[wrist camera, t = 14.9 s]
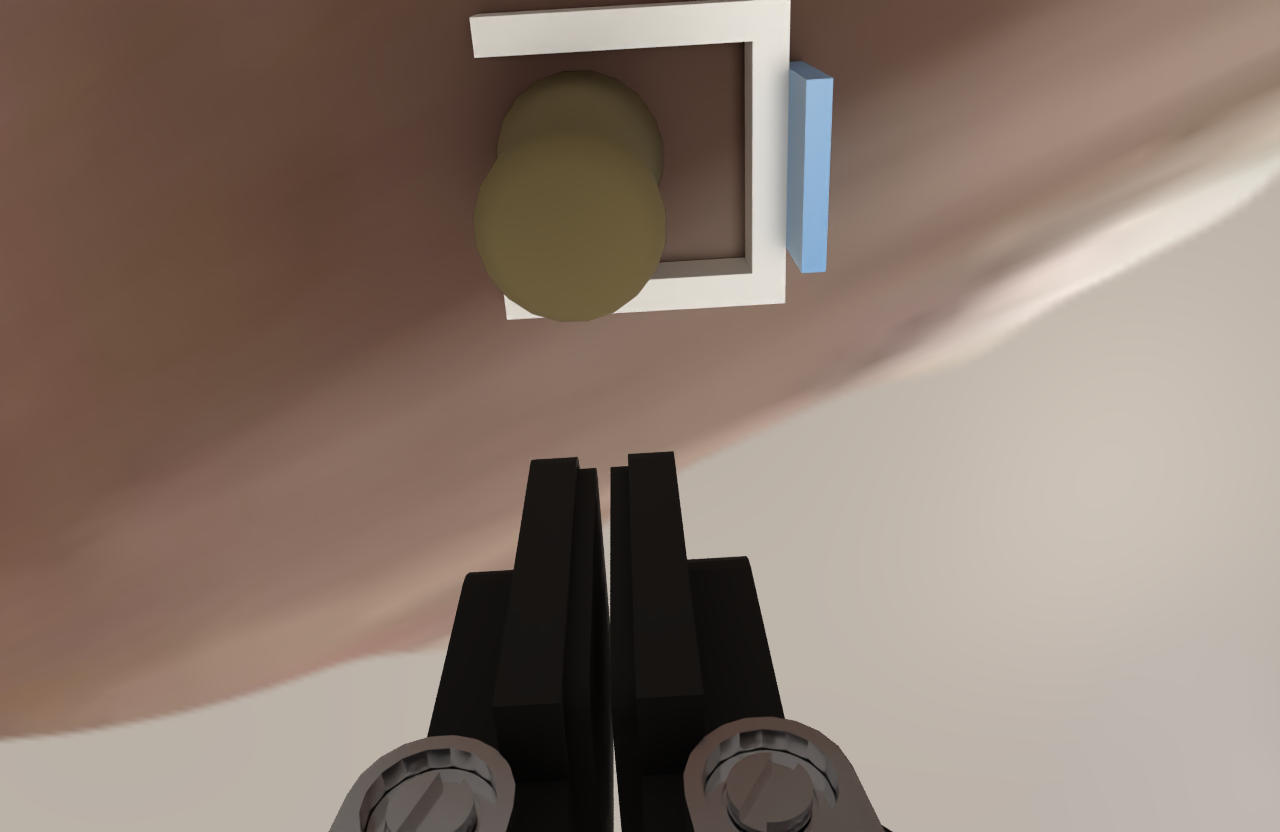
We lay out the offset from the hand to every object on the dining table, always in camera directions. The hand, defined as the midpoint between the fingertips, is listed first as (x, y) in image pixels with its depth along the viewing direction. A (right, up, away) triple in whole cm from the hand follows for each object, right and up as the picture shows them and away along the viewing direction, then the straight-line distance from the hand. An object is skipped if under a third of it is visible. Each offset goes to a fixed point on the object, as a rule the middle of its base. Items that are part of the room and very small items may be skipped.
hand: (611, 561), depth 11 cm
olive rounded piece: (-2, +11, +23) cm, 25 cm away
